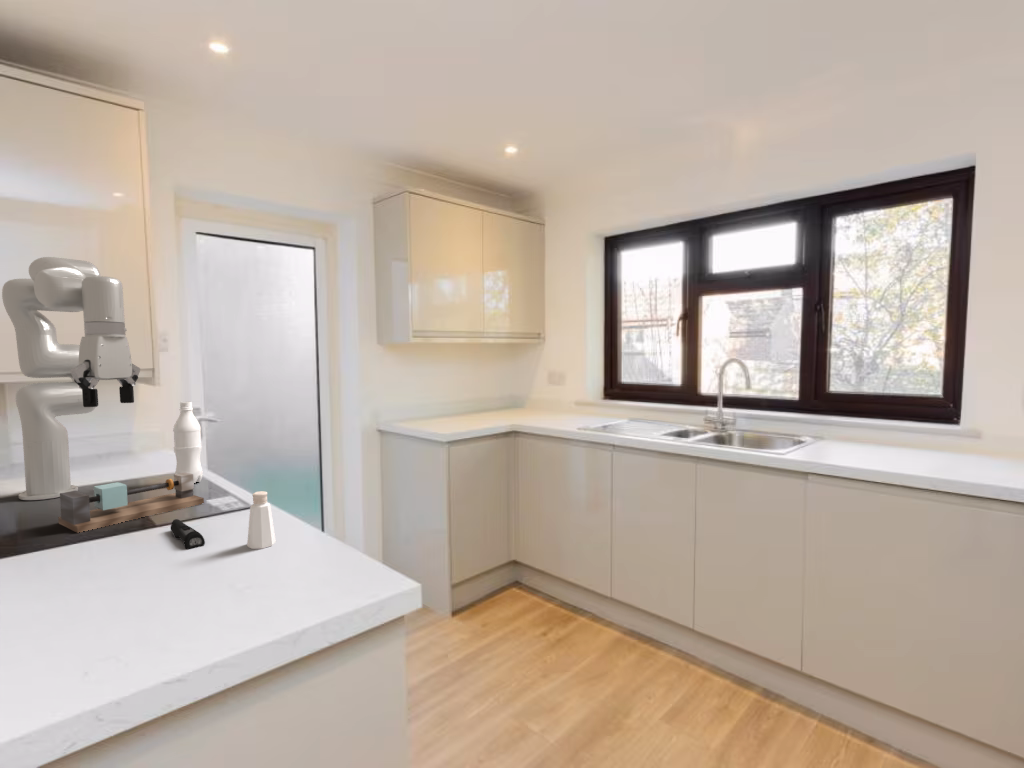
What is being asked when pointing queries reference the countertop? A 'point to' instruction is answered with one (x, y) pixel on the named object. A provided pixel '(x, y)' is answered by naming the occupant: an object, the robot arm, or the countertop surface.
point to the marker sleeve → (111, 495)
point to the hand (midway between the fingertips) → (109, 404)
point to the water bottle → (188, 442)
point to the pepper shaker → (260, 523)
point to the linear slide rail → (83, 519)
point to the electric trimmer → (187, 535)
